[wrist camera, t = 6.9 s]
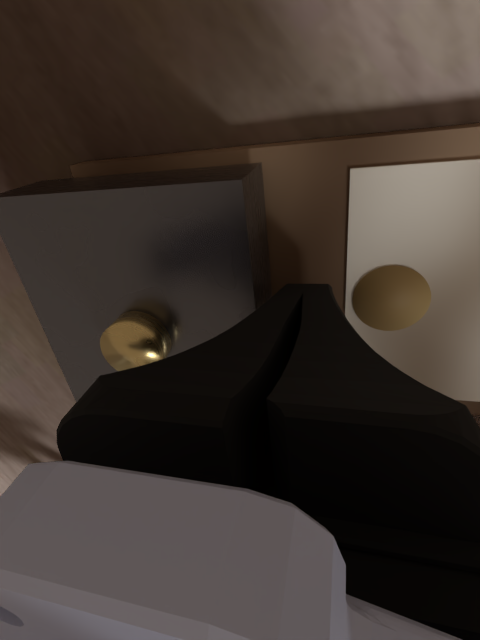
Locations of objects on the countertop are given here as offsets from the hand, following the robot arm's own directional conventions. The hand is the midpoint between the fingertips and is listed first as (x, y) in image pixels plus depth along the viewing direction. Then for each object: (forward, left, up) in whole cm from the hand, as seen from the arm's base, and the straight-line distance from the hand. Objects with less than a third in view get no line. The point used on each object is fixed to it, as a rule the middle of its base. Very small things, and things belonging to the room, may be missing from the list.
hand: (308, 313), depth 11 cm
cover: (+5, 0, -1) cm, 5 cm away
